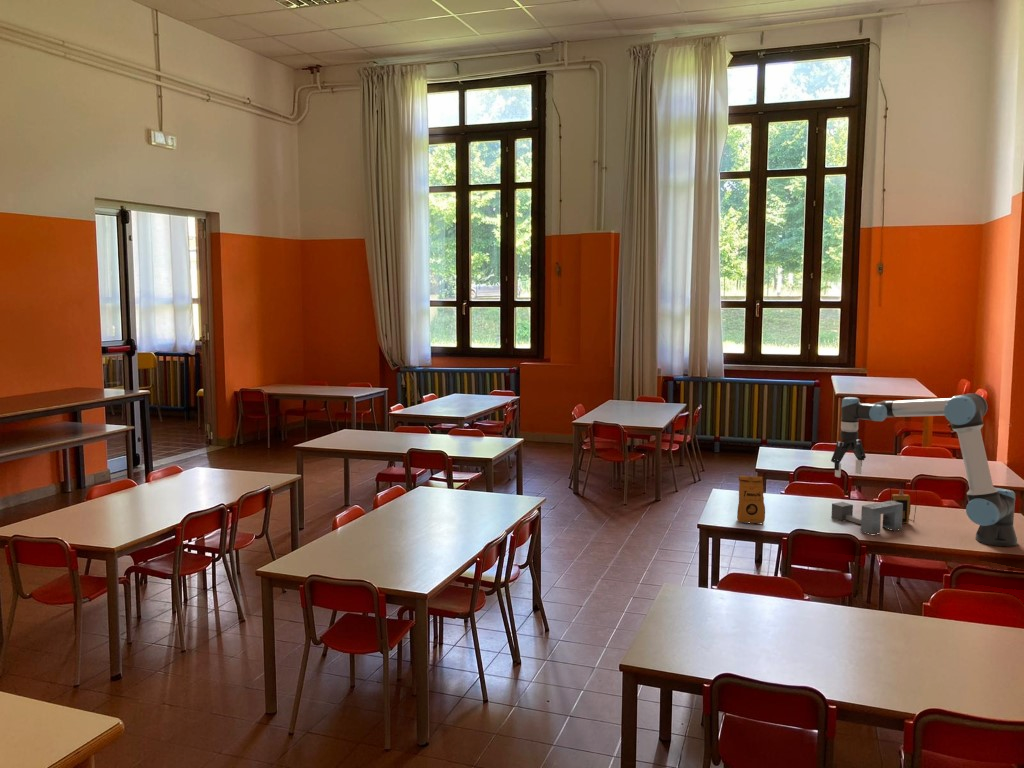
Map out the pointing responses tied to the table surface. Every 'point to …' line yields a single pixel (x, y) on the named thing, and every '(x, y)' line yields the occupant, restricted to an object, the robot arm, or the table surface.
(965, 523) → the table surface
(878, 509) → the housing
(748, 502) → the coffee package
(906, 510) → the multimeter
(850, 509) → the plug
